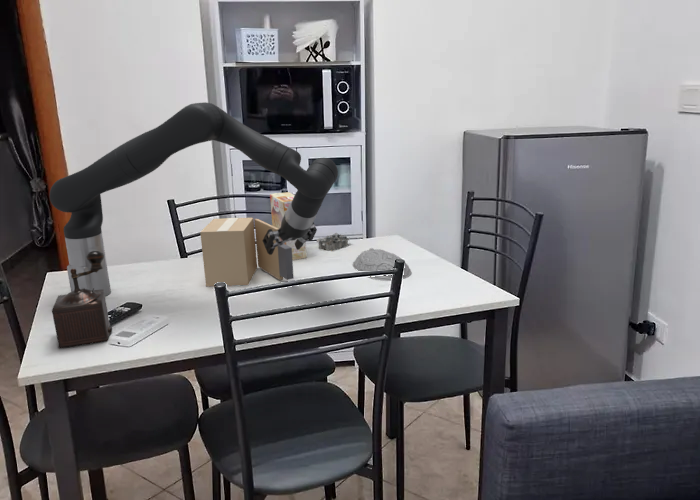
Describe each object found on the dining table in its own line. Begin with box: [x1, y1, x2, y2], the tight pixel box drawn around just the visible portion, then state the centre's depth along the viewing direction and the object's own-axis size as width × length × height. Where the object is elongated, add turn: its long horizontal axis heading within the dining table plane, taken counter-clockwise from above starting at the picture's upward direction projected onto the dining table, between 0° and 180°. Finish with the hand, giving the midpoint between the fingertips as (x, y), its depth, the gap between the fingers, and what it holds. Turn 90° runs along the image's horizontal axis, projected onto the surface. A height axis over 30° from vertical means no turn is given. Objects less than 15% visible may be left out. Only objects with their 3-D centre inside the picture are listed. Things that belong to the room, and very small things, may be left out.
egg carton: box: [316, 232, 351, 252], centre depth 202 cm, size 11×8×4 cm
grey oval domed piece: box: [352, 247, 412, 282], centre depth 177 cm, size 16×25×7 cm, turn 27°
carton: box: [199, 217, 258, 288], centre depth 172 cm, size 16×12×16 cm
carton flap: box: [253, 218, 295, 281], centre depth 171 cm, size 21×2×15 cm, turn 31°
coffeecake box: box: [269, 191, 307, 261], centre depth 193 cm, size 15×7×20 cm, turn 23°
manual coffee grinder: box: [51, 251, 113, 349], centre depth 136 cm, size 16×11×18 cm
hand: (283, 249), depth 165 cm, fingers open, 8 cm apart
